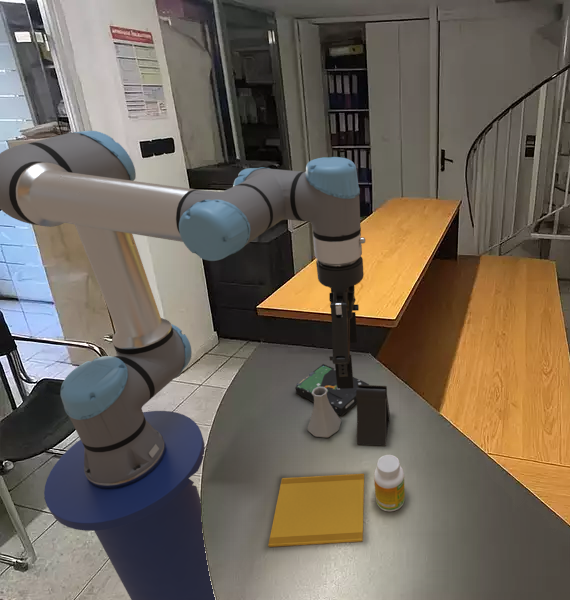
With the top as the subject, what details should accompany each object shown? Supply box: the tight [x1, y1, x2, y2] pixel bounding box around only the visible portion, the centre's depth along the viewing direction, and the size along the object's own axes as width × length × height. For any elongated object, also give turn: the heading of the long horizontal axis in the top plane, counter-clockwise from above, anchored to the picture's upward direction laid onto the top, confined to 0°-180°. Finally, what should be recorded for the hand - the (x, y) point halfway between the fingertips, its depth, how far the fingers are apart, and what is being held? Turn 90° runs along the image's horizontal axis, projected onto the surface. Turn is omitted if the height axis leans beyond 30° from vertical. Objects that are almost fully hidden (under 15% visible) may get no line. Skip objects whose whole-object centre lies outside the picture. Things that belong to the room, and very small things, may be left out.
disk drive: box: [295, 363, 370, 416], centre depth 116 cm, size 10×3×15 cm
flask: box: [306, 387, 342, 438], centre depth 104 cm, size 7×7×10 cm
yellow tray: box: [268, 473, 365, 548], centre depth 88 cm, size 16×14×1 cm
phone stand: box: [356, 384, 391, 447], centre depth 102 cm, size 9×6×12 cm, turn 174°
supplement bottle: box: [373, 454, 406, 512], centre depth 87 cm, size 5×5×10 cm
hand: (348, 363), depth 89 cm, fingers open, 13 cm apart
